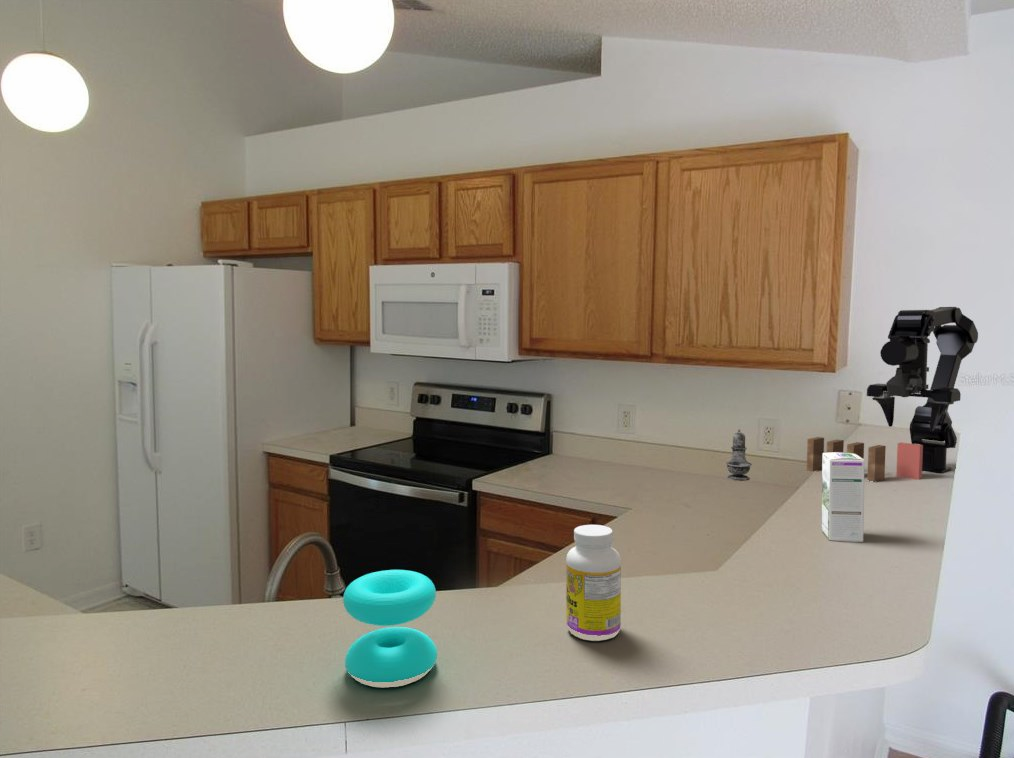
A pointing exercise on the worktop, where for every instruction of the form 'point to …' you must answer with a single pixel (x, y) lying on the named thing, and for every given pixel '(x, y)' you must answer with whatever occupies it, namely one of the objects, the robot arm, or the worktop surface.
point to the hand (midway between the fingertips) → (910, 428)
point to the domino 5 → (909, 460)
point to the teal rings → (390, 604)
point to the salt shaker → (738, 459)
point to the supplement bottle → (593, 582)
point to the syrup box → (843, 496)
